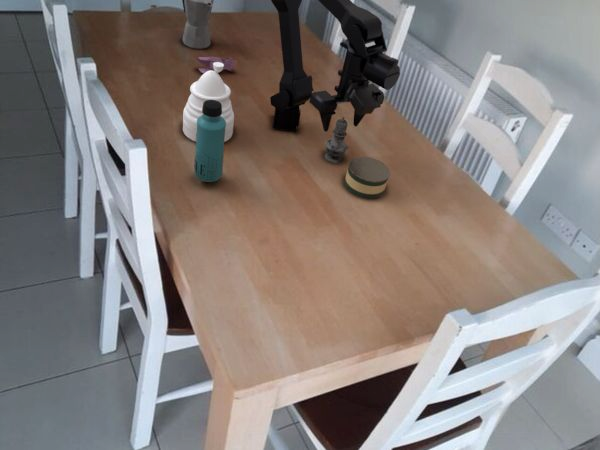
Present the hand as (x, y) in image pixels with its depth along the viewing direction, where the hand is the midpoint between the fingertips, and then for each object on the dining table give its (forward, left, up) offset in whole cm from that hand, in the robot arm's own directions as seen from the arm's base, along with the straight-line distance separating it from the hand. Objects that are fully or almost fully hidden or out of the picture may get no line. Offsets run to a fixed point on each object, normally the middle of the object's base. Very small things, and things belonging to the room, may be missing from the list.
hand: (340, 128), depth 140 cm
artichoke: (-44, +39, -7) cm, 59 cm away
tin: (+7, -11, -9) cm, 16 cm away
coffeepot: (-43, +58, -9) cm, 73 cm away
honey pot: (-33, +5, -9) cm, 35 cm away
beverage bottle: (-31, -16, -9) cm, 36 cm away
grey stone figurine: (0, 0, -9) cm, 9 cm away
